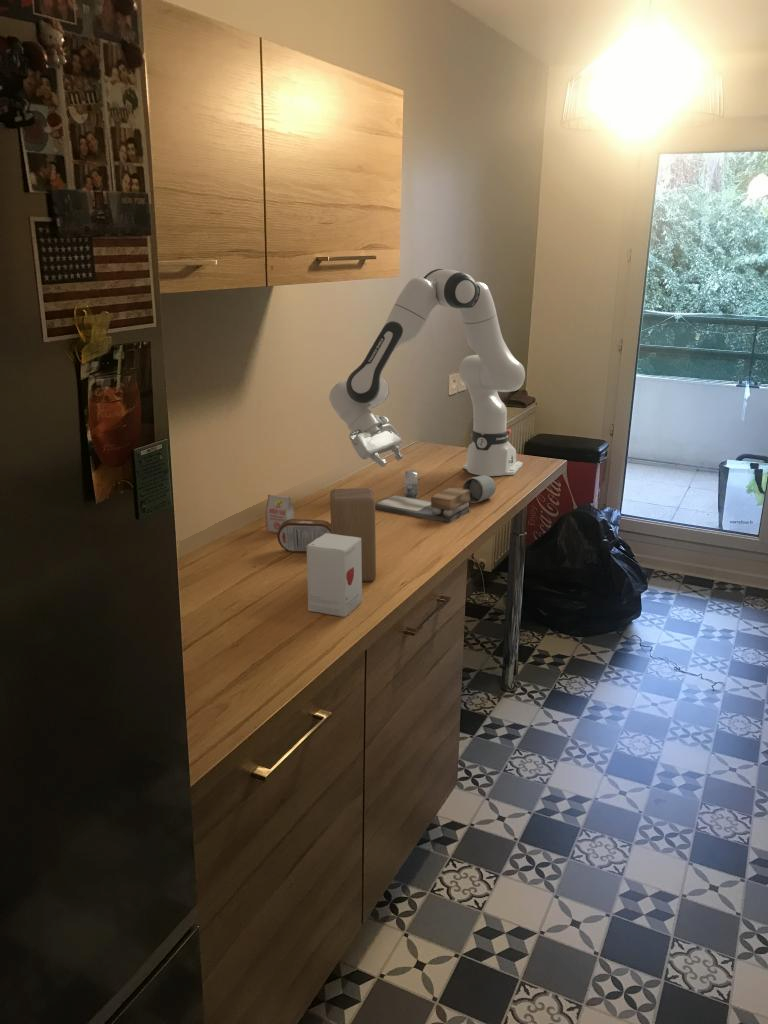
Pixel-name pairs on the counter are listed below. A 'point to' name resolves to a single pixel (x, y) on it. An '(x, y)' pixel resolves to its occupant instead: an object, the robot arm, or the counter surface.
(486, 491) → the ceramic mug
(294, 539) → the tin
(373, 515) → the wooden block
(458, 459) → the counter surface
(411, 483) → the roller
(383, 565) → the counter surface
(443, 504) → the grey board with block
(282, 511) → the tea bag
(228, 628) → the counter surface
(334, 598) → the supplement box
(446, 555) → the counter surface
